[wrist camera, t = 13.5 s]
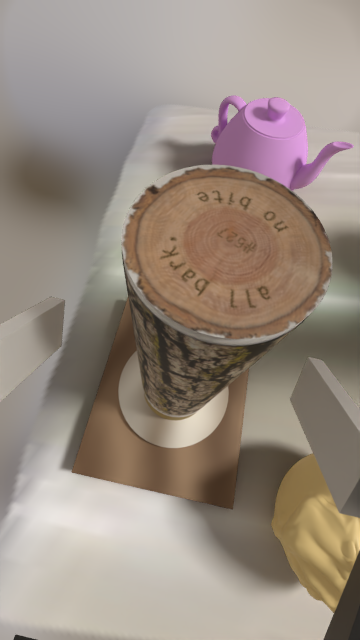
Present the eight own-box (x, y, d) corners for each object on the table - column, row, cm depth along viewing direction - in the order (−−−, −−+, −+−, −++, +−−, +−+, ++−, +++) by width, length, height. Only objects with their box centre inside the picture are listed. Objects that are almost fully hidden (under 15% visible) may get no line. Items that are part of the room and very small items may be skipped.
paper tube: (181, 435, 30) (270, 390, 8) (130, 394, 32) (72, 251, 9) (217, 382, 33) (364, 229, 10) (168, 346, 34) (201, 137, 11)
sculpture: (237, 524, 29) (280, 562, 20) (300, 429, 34) (361, 420, 24) (335, 622, 27) (441, 721, 17) (390, 506, 31) (499, 532, 21)
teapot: (327, 194, 49) (378, 119, 38) (283, 243, 44) (326, 174, 33) (232, 134, 53) (253, 52, 42) (181, 174, 48) (190, 91, 37)
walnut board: (250, 328, 38) (255, 322, 36) (229, 506, 30) (234, 510, 28) (129, 301, 38) (128, 293, 36) (75, 471, 30) (70, 472, 28)
